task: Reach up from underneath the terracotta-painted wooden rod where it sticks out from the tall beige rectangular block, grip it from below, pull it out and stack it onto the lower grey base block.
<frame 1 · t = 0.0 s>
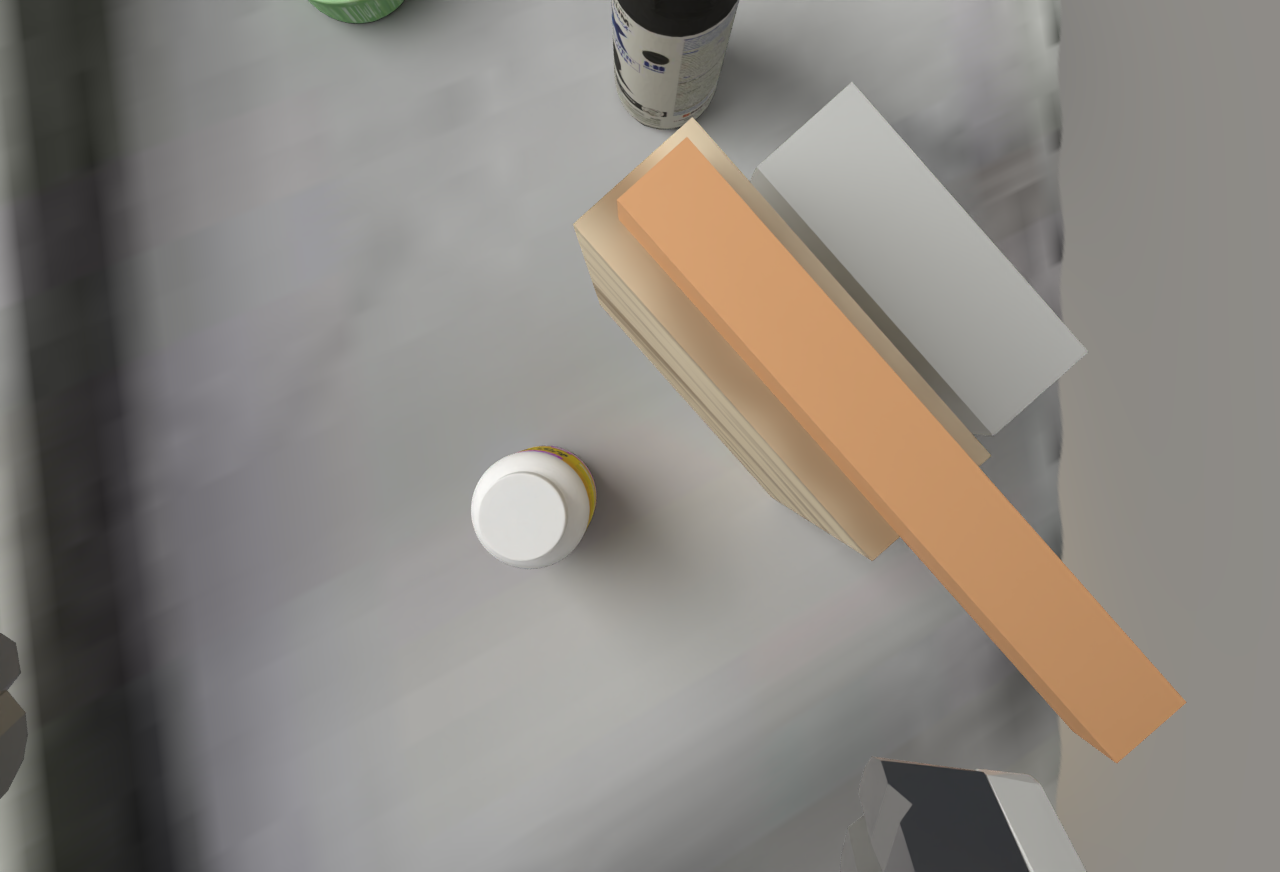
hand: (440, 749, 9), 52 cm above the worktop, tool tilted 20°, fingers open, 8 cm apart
supplement bottle: (546, 494, 61), on the worktop
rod: (879, 449, 35), point 26 cm above the worktop, touching beige rectangular block
base: (842, 302, 61), on the worktop
spray can: (666, 80, 60), on the worktop
beige rectangular block: (720, 370, 61), on the worktop
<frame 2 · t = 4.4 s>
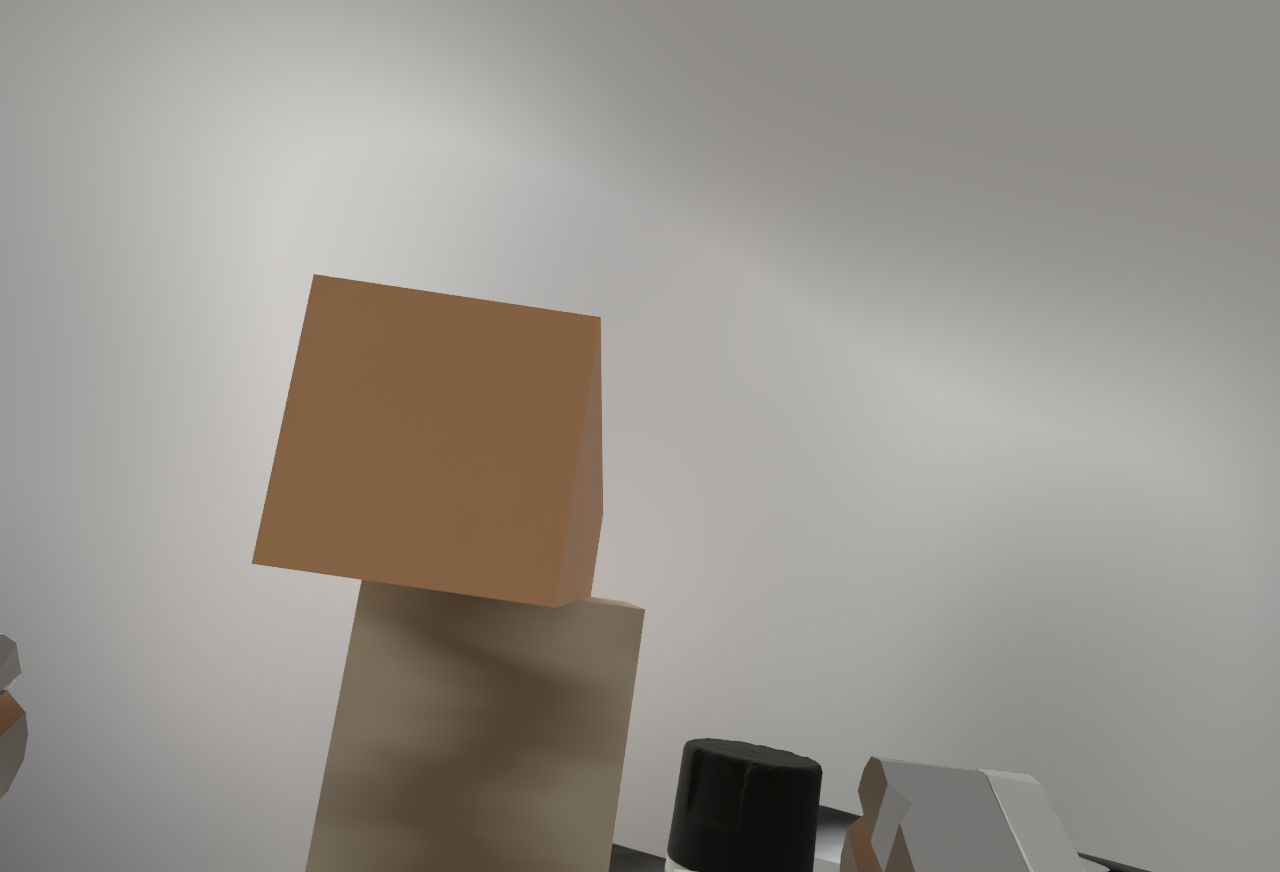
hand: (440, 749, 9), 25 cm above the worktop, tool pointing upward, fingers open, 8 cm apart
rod: (517, 589, 22), point 26 cm above the worktop, touching beige rectangular block
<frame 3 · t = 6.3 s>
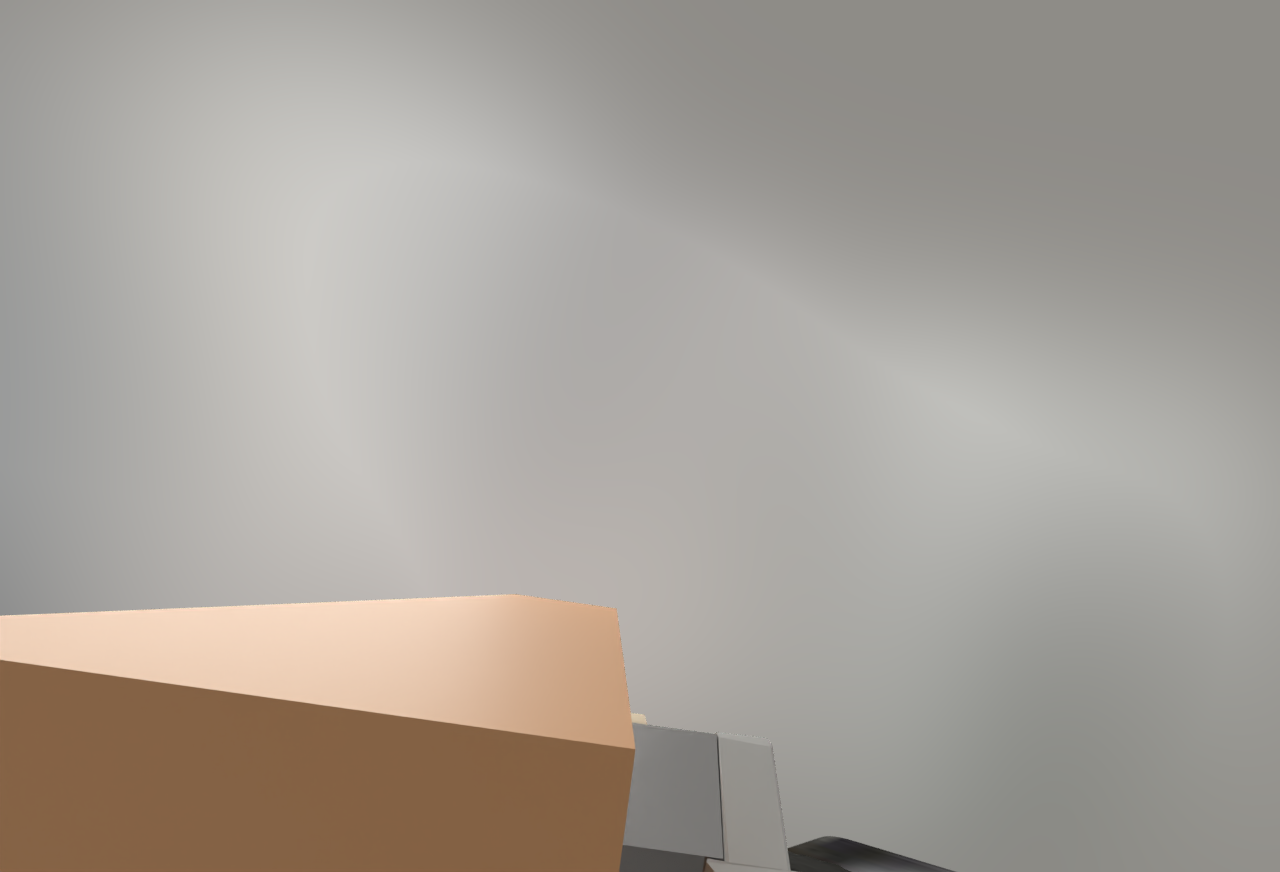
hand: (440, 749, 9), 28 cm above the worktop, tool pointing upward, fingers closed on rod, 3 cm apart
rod: (498, 800, 16), point 26 cm above the worktop, touching gripper, beige rectangular block
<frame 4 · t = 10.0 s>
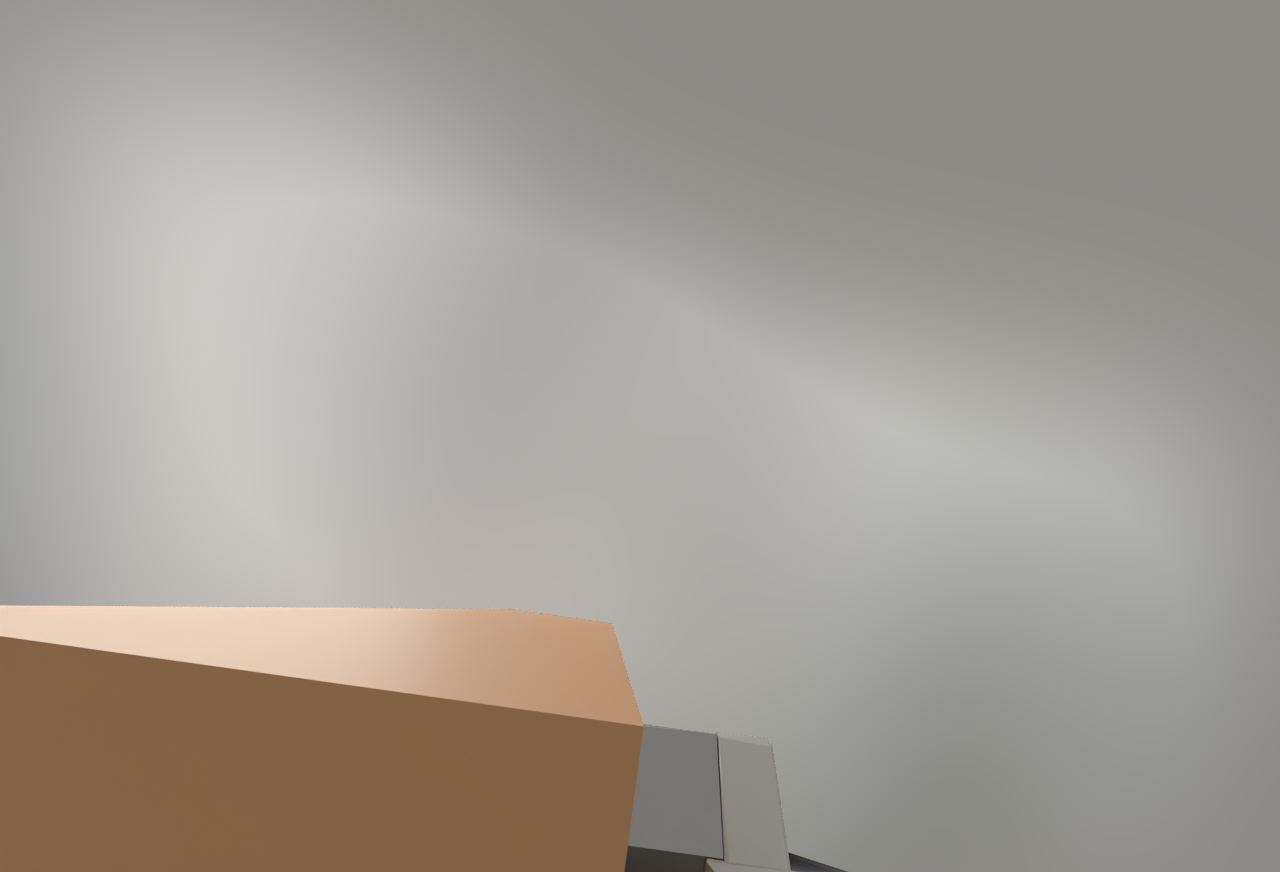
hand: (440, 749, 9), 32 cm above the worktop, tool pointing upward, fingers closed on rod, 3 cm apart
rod: (494, 813, 16), point 30 cm above the worktop, touching gripper
when the fingers open (20 cm above the worktop, at t = 13.3 s): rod stays where it is, resting on base.
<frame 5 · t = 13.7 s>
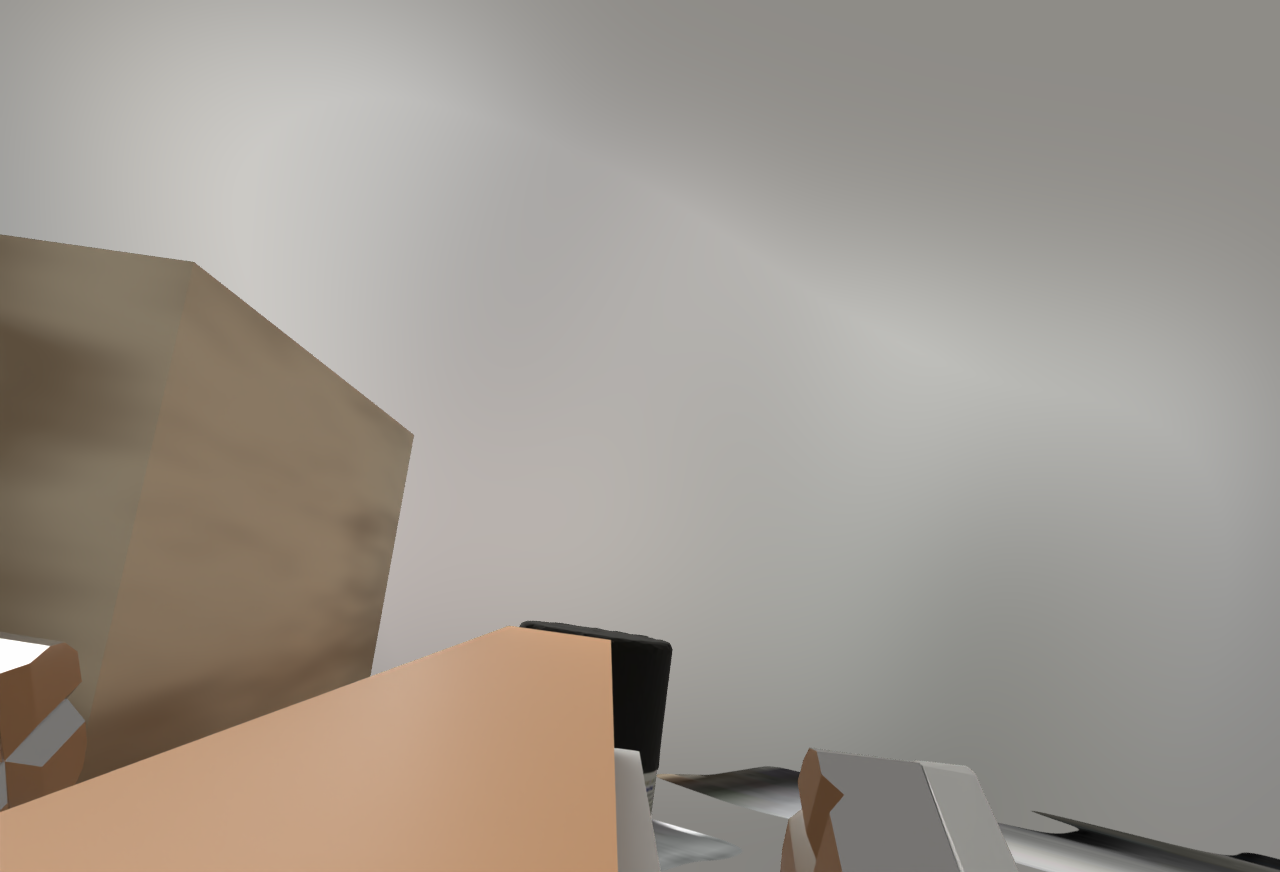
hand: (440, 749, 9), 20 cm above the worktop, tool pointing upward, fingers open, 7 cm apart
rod: (489, 864, 15), point 17 cm above the worktop, touching base
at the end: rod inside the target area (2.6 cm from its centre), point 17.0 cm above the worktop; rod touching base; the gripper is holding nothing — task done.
